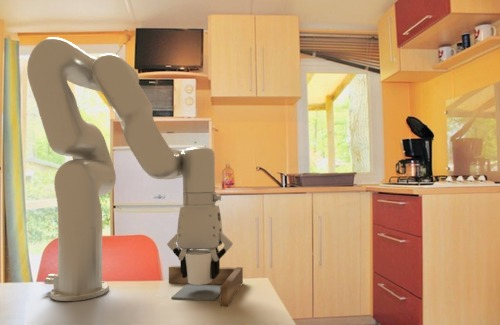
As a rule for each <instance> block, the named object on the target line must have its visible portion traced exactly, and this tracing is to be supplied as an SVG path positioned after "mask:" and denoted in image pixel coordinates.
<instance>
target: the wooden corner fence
mask: <svg viewBox="0 0 500 325" xmlns="http://www.w3.org/2000/svg"><path fill="white" fill-rule="evenodd" d="M243 268H244V267H241V266H236V267H228V266H227V267H225V266H220V273H219V274H218V276H217V277H216V278H215V279H212V282H210V283H208V284H207V285H215V284H222V285H220V286H221V287H220V295H219V296H220V298H219V299H220V303H219V304H220V307H227V308H228V307H229V306H230V304H231V302H232V301H233V299H234V297H235V296H236V295H237V293H238V291H239V290H240V288H241V287H242V285H243V284H242V283H244V282H243V281H244V280H243V279H244V275H243V274H244V273H243V272H244V271H243V270H244V269H243ZM168 283H169V284H190V283H188V278H187V277H186V278H182V273H181V265H170V266H168ZM241 284H242V285H241ZM240 286H241V287H240ZM238 289H239V290H238Z"/></svg>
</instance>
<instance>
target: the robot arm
mask: <svg viewBox="0 0 500 325" xmlns="http://www.w3.org/2000/svg"><path fill="white" fill-rule="evenodd" d="M26 70H27V78H28V79H27V80H28V82H29V86H30V89H31V93H32V95H33V97H34V100H35V103H36V107H37V111H38V114H39V117H40V120H41V122H42V124H41V125H42V126H43V127H42V128H43V130H44V133H45V137H46V139H47V143H48V145H49V148H50V149H51V150H52V151H53V152H54V153H56V154H57V155H61V156H67V157H72V159H71V160H67V161H66V162H64V163H63V164H61V165H60V166H59V167H58V169H57V171H56V173H55V176H54V184H53V185H54V191H55V197H56V201H57V202H56V203H57V204H56V205H57V217H58V218H57V219H58V220H57V221H58V222H57V223H58V225H57V228H58V230H57V231H58V232H57V233H58V234H57V236H58V237H57V273H49V274H47V276H46V278H45V279H44V280H43V281H44V284H45V285H53V289H51V290H50V293H49V294H50V295H49V297H50V299H52V300H54V301H59V302H77V301H84V300H85V301H86V300H90V299H93V298H98V297H99V296H102V295H104V294H106V293H108V291H109V290H110V284H109V283H108V282H106V281H103V212H102V210H103V209H102V205H101V200H100V197H104V196H106V195H107V194H109V193H110V192H112V190H113V189H114V188H115V184H116V181H117V179H116V178H117V177H116V175H117V174H116V169H115V168H114V164H113V161H112V157H111V154H110V152H109V148H108V145H107V142H106V140H105V136H104V135H103V133H102V131H101V130H100V129H99V128H98V126H96V125H95V124H93V123H92V122H90V121H86V120H84V118H83V117H82V115H81V112H80V109H79V107H78V103H77V100H76V97H75V95H74V93H73V91H72V89H71V87H70V85H69V83H72V84H73V85H76V86H78V87H83V88H85V89H90V90H93V91H97V92H100V93H102V95H103V97H104V98H105V100H106V101H107V103H108V104H109V106H110V107H111V109H112V111H113V113H114V114H115V116H116V118H117V119H118V121H119V124H120V129H121V130H122V133H123V136H124V139H125V141H126V144H127V145H128V148H129V149H130V151H131V153H133V155H134V157H135V158H136V160H137V162H138V164H139V165H140V167H141V168H142V170H143V171H144V172H145V173H146V174H147V175H148V176H149V177H151V178H153V179H155V180H174V179H175V180H176V179H181V178H182V205H181V206H180V208H179V214H178V220H177V229H176V234H175V235H173V236H172V237H171V239H170V240H169V241H168V242H167V244H166V245H167V246H168V248H170V250H171V251H172V252H173V254H174V255H175V256H176V257H177V258H178V260H179V261H180V263H179V264H180V266H181V273H182V278H186V277H187V268H186V258H185V252H187V251H189V250H193V249H209V250H210V253H211V255H212V257H213V261H212V262H211V278H212V279H215V278H216V277H217V276H218V274H219V273H220V267H221V266H220V259H221V258H222V257H223V256H225V254H226V253H227V252H228V251H229V250H230V248H232V247H233V245H234V243H233V242H232V241H231V240H230V238H228V236H226V235H225V234H224V232H223V224H222V215H221V209H220V206H219V205H217V204H216V203H217V202H219V201H222V196H221V194H217V193H216V181H215V180H216V178H215V177H216V174H215V173H216V171H215V169H216V167H215V166H216V165H215V164H216V163H215V158H216V157H215V152H214V150H213V149H212V148H210V147H189V148H186V149H177V148H172V147H170V146H169V145H168V143H167V141H166V140H165V138H164V137H163V135H162V134H161V132H160V130H159V128H158V127H157V125H156V122H155V118H154V117H153V111H154V107H153V104H152V102H151V101H150V99H149V98H148V96H147V95H146V93H145V91H144V90H143V88H142V87H141V85H140V84H139V83H140V78H139V75H138V73H137V71H136V69H135V68H134V67H133V66H131V65H130V64H129V63H128V62H126V60H125V59H124V58H122V57H120V56H119V55H116V54H113V53H105V54H100V55H99V56H97V57H94V56H91V55H89V54H88V53H87V52H85V51H84V50H82V49H80V47H78V46H77V45H75V44H74V43H72V42H70V41H68V40H66V39H63V38H60V37H47V38H46V39H45V38H44V39H42V40H40V42H38V43H37V45H35V47H34V48H33V49H32V51H31V52H30V55H29V57H28V61H27V67H26ZM68 82H69V83H68ZM222 245H224V246H223V247H222V248H221V249H220V250H219V247H220V246H222Z"/></svg>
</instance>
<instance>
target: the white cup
mask: <svg viewBox="0 0 500 325" xmlns="http://www.w3.org/2000/svg"><path fill="white" fill-rule="evenodd" d="M185 258H186V268H187V278H188V283H187V284H189V283H190V284H194V285H209V284H208V283H210V282H212V278H211V262H212V261H213V257H212V255H211V253H210V250H209V249H190V250H189V251H187V252H185Z"/></svg>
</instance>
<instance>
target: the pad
mask: <svg viewBox="0 0 500 325" xmlns="http://www.w3.org/2000/svg"><path fill="white" fill-rule="evenodd" d="M221 286H222V285H215V284H202V285H194V284H189V283H185V285H184V286H183V287H182V288H181V289H179V290H178V291H177V292H176V293H175V294H173V295H171V300H186V301H203V302H205V301H207V302H215V301H217V300H218V298H219V297H218V296H220V287H221Z"/></svg>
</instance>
